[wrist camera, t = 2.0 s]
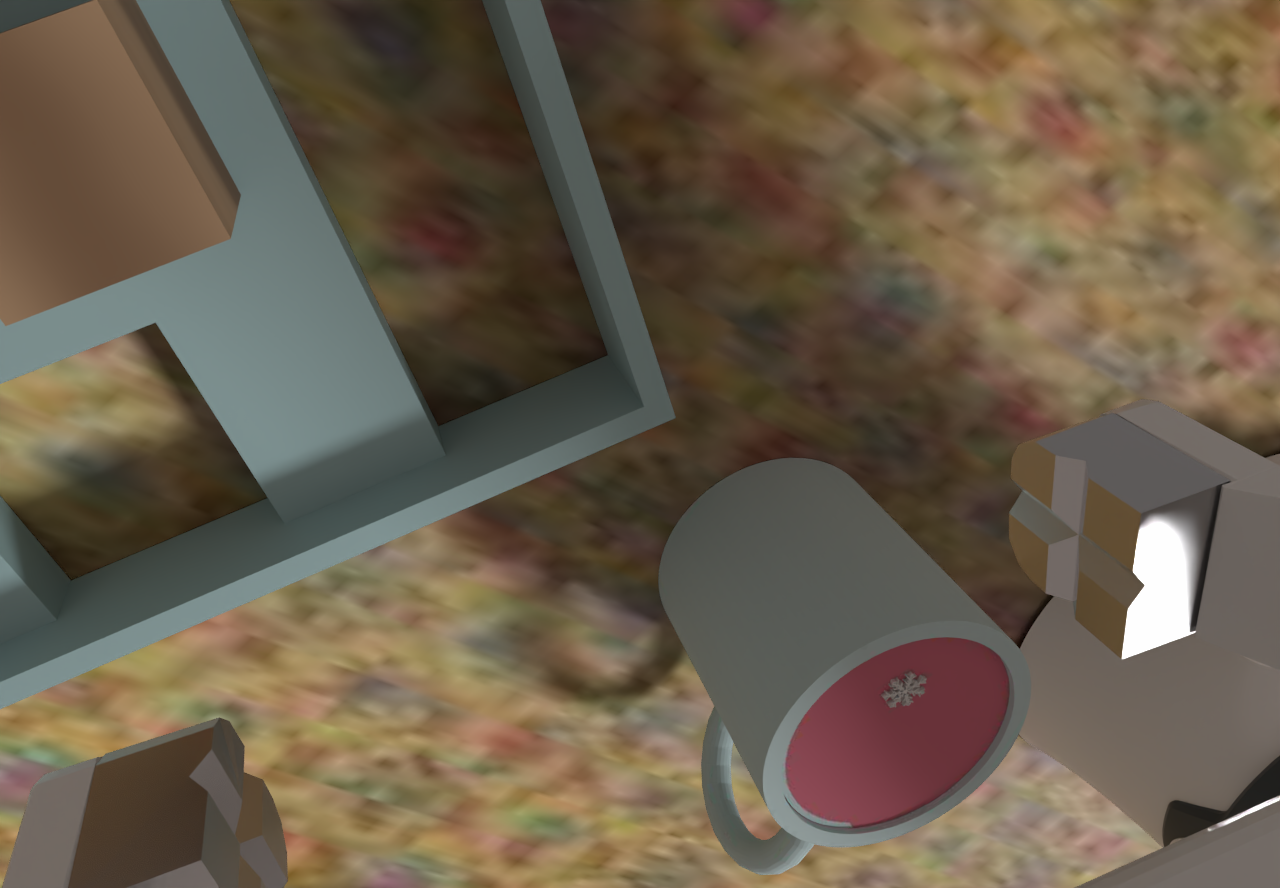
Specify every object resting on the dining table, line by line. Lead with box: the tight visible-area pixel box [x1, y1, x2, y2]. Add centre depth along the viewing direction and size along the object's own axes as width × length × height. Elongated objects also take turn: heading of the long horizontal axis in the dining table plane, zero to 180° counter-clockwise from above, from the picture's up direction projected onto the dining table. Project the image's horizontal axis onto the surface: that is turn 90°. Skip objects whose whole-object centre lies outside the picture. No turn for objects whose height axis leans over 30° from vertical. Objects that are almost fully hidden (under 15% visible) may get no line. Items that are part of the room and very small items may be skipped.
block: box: [0, 0, 241, 326], centre depth 21 cm, size 5×5×4 cm
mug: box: [658, 458, 1031, 875], centre depth 35 cm, size 14×9×10 cm
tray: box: [0, 0, 676, 709], centre depth 24 cm, size 26×18×4 cm
